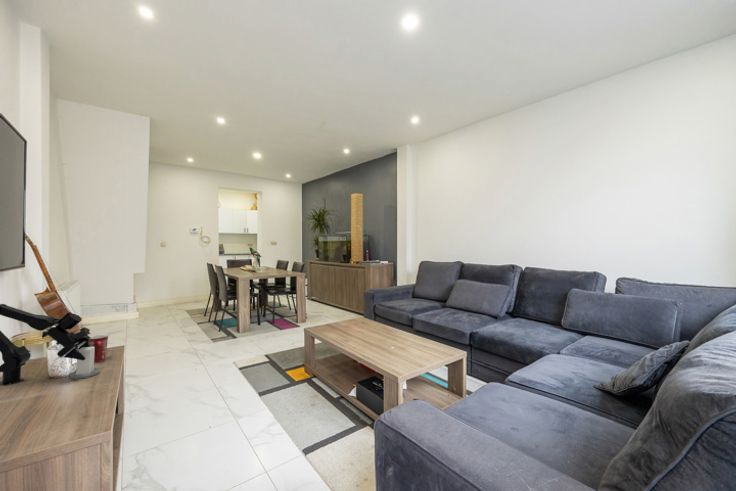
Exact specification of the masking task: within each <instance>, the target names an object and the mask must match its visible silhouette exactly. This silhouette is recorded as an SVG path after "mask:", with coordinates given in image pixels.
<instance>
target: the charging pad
mask: <svg viewBox="0 0 736 491" xmlns="http://www.w3.org/2000/svg"><path fill="white" fill-rule="evenodd" d="M99 374H100V369H99V368H97V367H94V370H93V371H92V372H90V373H89V374H81V375H76V371H74V372H71V373H70V374H69V379H70V380H81V379H88V378H92V377H95V376H96V375H99Z"/></svg>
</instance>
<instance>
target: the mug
mask: <svg viewBox="0 0 736 491" xmlns="http://www.w3.org/2000/svg"><path fill="white" fill-rule="evenodd" d="M89 337H91V338H90V343H89V344H90V346H91V347H95V352H94V363H97V362H102V361H105V360H106V358H107V350H108V340H109V339H108V338H109V334H96V335H92V336H89Z"/></svg>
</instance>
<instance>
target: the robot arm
mask: <svg viewBox="0 0 736 491" xmlns="http://www.w3.org/2000/svg"><path fill="white" fill-rule="evenodd" d="M0 316H2V317H6V318H9V319H13V320H15V321H17V322H18V321H19V322H22V323H25V324H26V325H28V327H29V328H31V329H34V330H36V331H41V332H42V335H41V338H42V339H45V338H46V337H48V336H49V337H50V338H51V339H52V340H54V341H55V342H56V343H55V344H56V345H60V346H61V347H63V348H61V349H60V350H59V351H57V353H56V355H57V356H58V357H59V358H67V359H74V360H77V359H78V360H85V359H86V358H85V357H84V356H83V355H82V354H81V353H80V352H79V351H78V350H79V349H81V348H83V347H91V346H90V344H89V343H90V338H91V337H90V336H89V335H91V332H90V331H91V329H89V328H88V327H85V326H84V327H83V328H81V329H79V331H77V332H76V333H75V332H73V331H71V332H70V331H68V330H72V329H73V328H75V326H77V325H78V324H79V323H81V322H82V321H83V318H82V317H81V316H80V315H78V314H76V313H72V312H71V311H68V312H67V313H66V314H65V315H64V316H62V317H61V318H55V317H54V316H50V315H44V314H34V313H32V312H28V311H25V310H21V309H19V308H16V307H13V306H10V305H7V304H6V303H5V304H4V303H0ZM47 329H48V330H47ZM44 330H45V331H44ZM0 353H1V359H2V361H3V363H2V364H1V365H0V373H2V377H1V378H2V380H0V385H3V386H7V385H11V384H14V383H15V384H16V383H19V382H23V381H25V379H24V378H22V377H21V376H22V367H23V366H25V365H26V363H27V362H28V361H29V360H30V359H31V357H32V356H31V355H32V354H31V350H29V349H27V347H26V346H25V345H21V346H17V345H15V343H13V342H12V341H11V340H10V339H9V337H7V336H6V335H5V334H4V333H3V331H1V330H0Z"/></svg>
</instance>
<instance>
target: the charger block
mask: <svg viewBox="0 0 736 491" xmlns="http://www.w3.org/2000/svg"><path fill="white" fill-rule="evenodd" d="M78 351H79V352H80V353H81V354H82V355H83V356H84V357H85V358H86V359H85V360H78V359H76V369H75V372H76V375H81V374H89V373H90V372H92V371H93V370H94V368H95V362H94V352H95V347H83V348H81V349H79V350H78Z"/></svg>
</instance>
